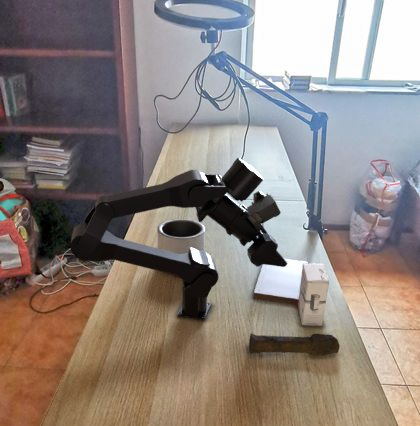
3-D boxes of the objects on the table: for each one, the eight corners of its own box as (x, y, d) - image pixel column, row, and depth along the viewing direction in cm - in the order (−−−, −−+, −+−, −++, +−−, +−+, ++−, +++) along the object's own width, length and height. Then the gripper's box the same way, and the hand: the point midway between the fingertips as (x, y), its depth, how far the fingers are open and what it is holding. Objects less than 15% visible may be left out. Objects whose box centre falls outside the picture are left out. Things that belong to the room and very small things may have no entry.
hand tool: (248, 356, 102) (250, 339, 99) (248, 344, 105) (250, 327, 102) (339, 362, 101) (343, 345, 99) (336, 350, 105) (340, 333, 102)
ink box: (296, 305, 119) (302, 261, 112) (316, 305, 118) (324, 262, 112) (300, 326, 111) (308, 281, 105) (322, 326, 111) (331, 282, 105)
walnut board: (301, 305, 119) (302, 299, 118) (253, 297, 121) (253, 292, 120) (307, 266, 135) (308, 261, 134) (264, 260, 137) (264, 255, 136)
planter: (180, 282, 125) (180, 243, 119) (148, 265, 132) (146, 227, 126) (213, 266, 133) (215, 228, 127) (182, 250, 140) (182, 214, 134)
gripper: (267, 203, 92) (320, 248, 100) (246, 171, 107) (293, 212, 115) (228, 246, 96) (281, 286, 104) (213, 209, 111) (261, 246, 119)
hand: (280, 255), depth 110 cm, fingers open, 9 cm apart
